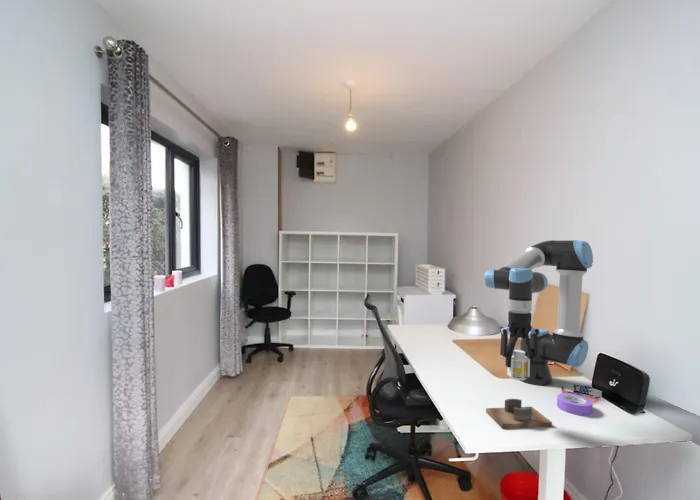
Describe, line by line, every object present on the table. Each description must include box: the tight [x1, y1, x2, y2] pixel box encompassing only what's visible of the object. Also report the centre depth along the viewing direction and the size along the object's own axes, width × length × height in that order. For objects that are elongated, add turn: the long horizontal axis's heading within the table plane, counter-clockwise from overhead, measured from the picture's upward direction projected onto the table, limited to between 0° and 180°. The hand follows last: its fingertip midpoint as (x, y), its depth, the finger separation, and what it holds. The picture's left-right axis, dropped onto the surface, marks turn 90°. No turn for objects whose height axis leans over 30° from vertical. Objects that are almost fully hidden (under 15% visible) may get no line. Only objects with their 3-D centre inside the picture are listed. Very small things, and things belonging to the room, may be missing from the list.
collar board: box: [485, 398, 553, 429], centre depth 134 cm, size 18×12×6 cm, turn 95°
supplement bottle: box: [510, 349, 527, 381], centre depth 133 cm, size 5×5×10 cm
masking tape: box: [556, 392, 594, 417], centre depth 143 cm, size 12×12×4 cm
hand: (518, 375), depth 133 cm, fingers closed on supplement bottle, 5 cm apart
